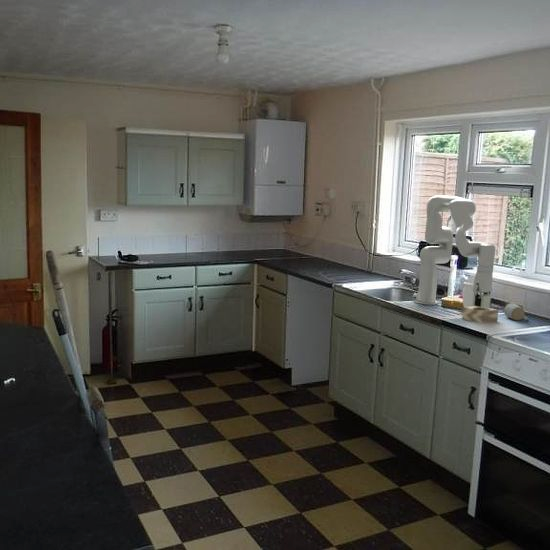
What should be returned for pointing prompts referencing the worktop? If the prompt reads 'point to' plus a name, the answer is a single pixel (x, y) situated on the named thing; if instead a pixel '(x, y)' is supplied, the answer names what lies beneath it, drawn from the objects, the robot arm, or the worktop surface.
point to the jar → (468, 294)
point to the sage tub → (483, 301)
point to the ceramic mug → (514, 312)
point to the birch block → (480, 314)
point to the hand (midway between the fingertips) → (481, 304)
